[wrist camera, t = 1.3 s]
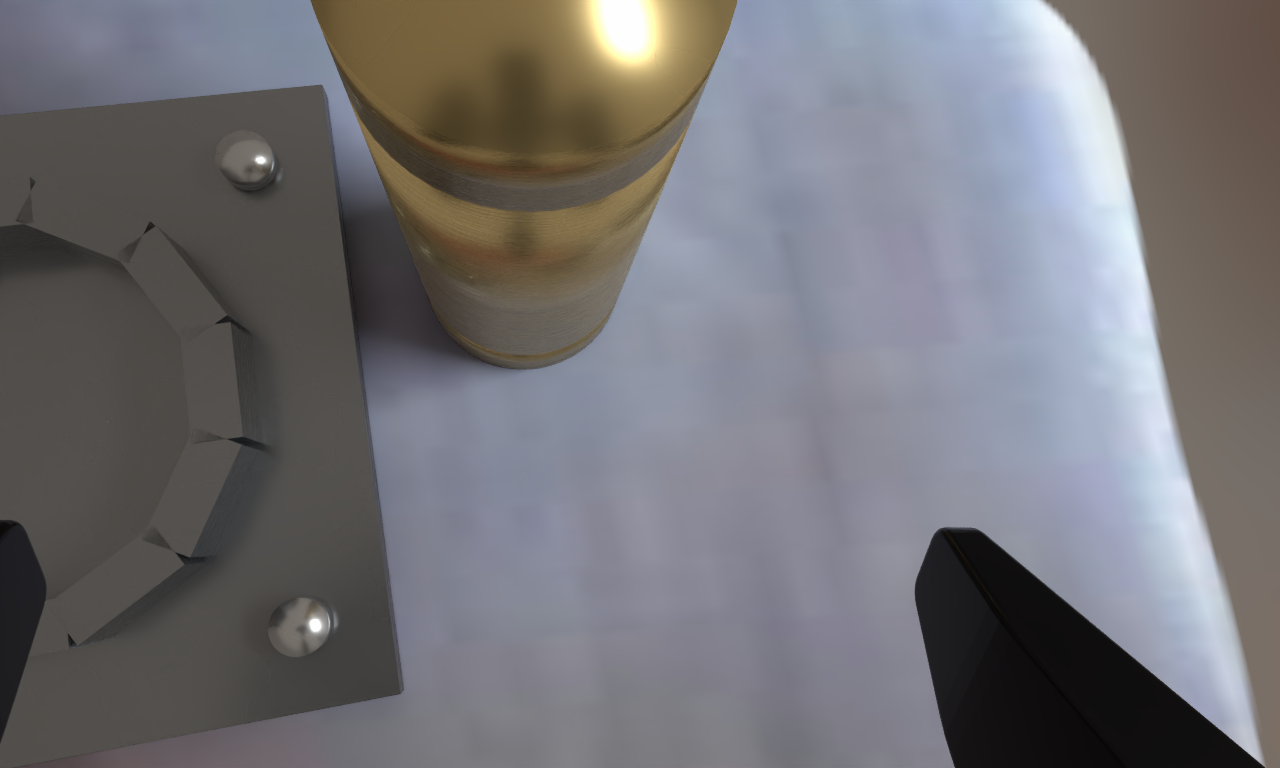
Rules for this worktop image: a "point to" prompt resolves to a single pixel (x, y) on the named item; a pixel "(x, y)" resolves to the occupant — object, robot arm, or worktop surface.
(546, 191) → the brass cylinder
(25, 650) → the robot arm
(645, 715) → the worktop surface
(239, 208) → the floor flange
